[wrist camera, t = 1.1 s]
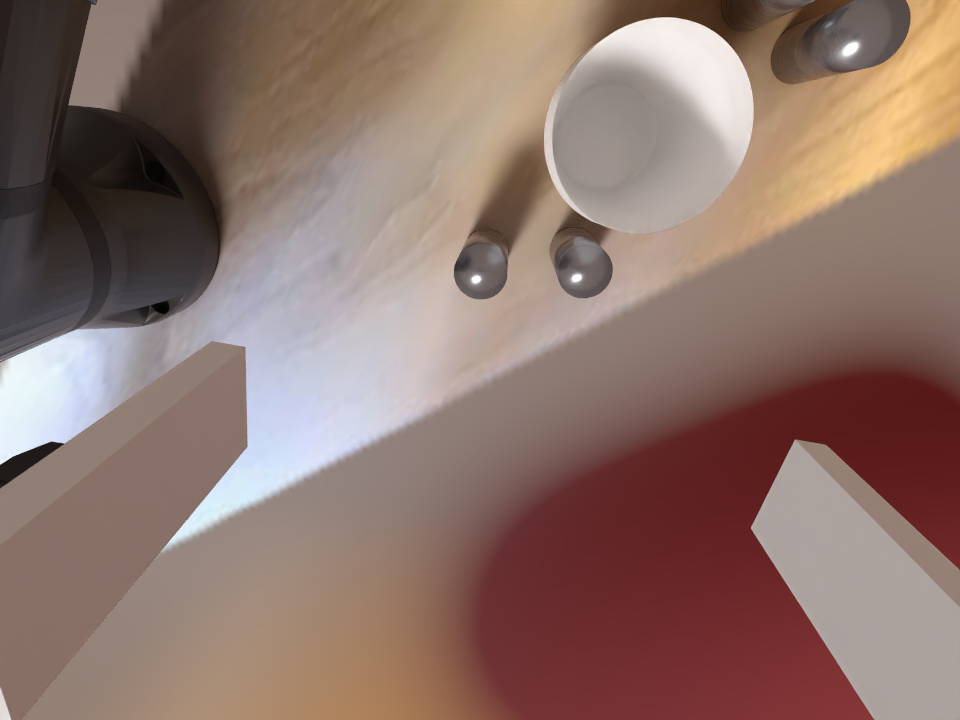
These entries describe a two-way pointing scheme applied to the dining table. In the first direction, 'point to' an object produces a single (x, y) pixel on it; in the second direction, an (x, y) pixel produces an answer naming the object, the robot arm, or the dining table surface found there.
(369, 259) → the dining table surface
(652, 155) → the cup
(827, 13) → the posts
